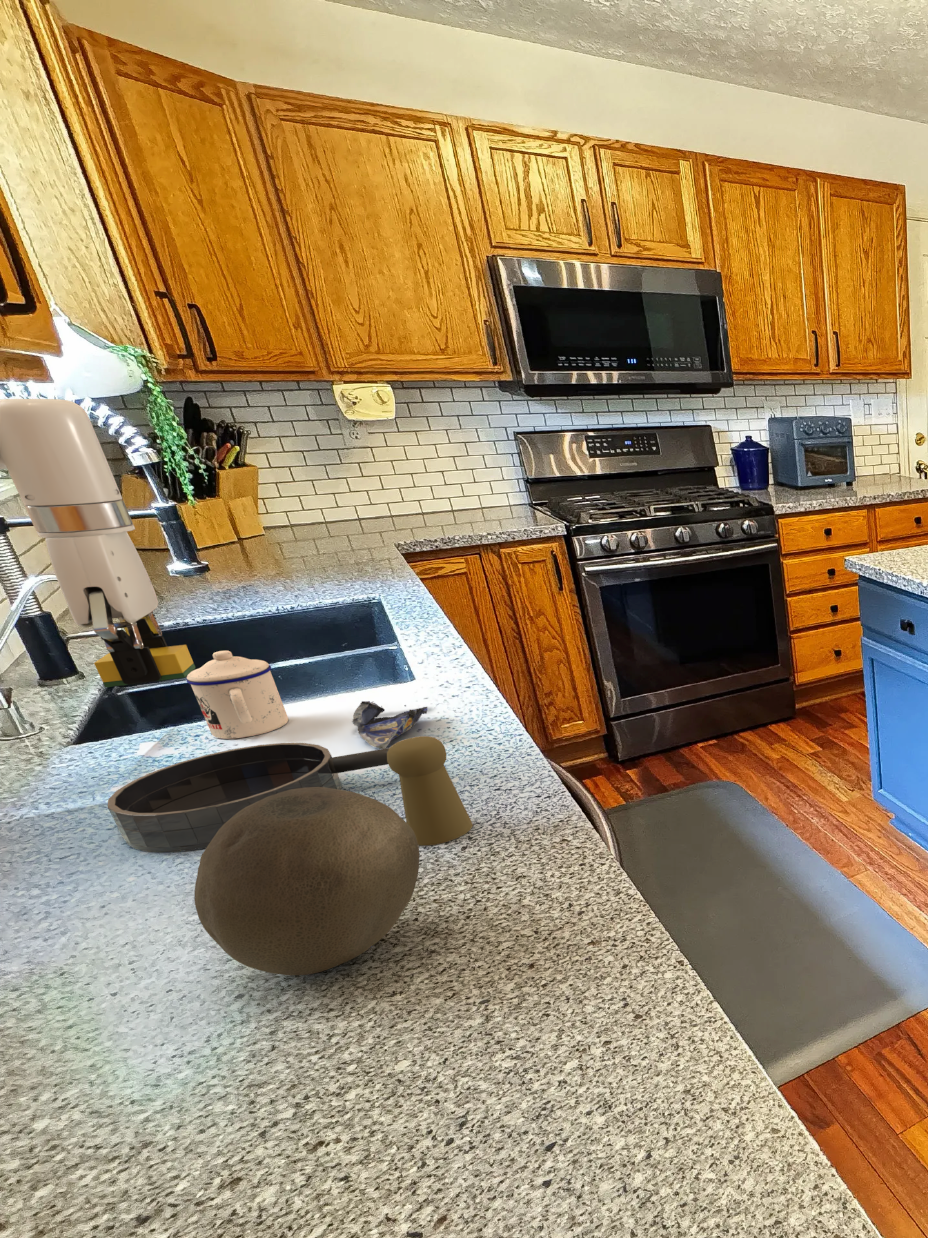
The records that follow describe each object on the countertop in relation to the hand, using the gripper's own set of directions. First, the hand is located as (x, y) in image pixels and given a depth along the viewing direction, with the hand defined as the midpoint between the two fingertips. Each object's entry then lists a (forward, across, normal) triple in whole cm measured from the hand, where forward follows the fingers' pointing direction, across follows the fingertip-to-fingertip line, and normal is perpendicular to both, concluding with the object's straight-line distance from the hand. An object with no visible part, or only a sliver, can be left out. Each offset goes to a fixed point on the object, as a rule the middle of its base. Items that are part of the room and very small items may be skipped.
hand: (150, 674), depth 96 cm
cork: (+14, +32, +28) cm, 44 cm away
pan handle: (+12, +14, +22) cm, 28 cm away
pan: (+14, +13, +7) cm, 21 cm away
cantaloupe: (+14, +53, +21) cm, 58 cm away
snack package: (+14, -5, +20) cm, 25 cm away
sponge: (0, 0, 0) cm, 0 cm away
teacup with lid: (+14, -18, +2) cm, 23 cm away
